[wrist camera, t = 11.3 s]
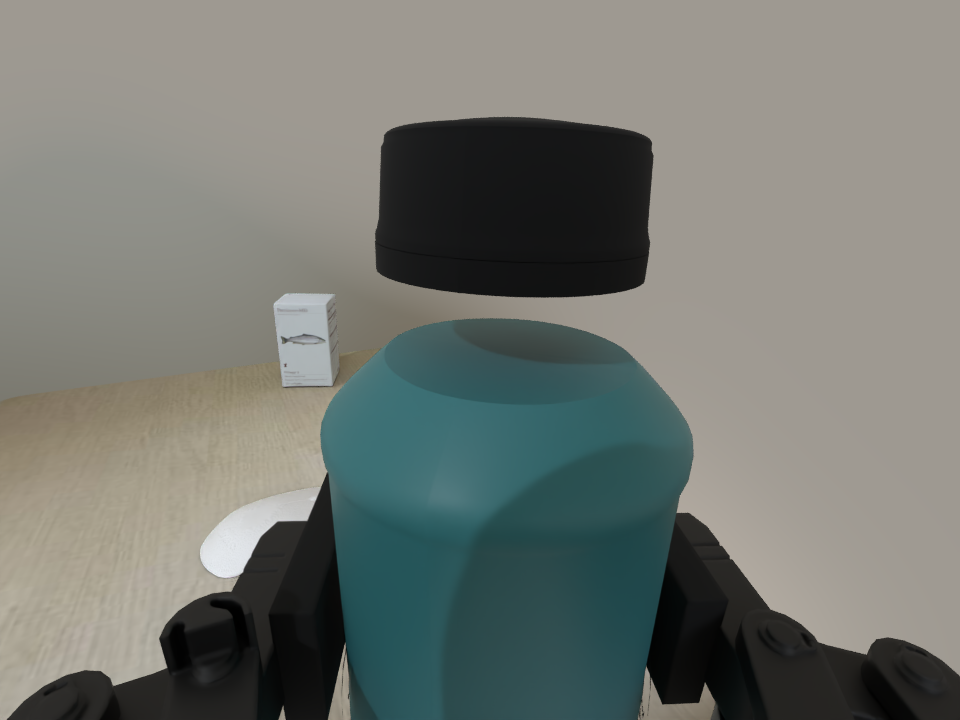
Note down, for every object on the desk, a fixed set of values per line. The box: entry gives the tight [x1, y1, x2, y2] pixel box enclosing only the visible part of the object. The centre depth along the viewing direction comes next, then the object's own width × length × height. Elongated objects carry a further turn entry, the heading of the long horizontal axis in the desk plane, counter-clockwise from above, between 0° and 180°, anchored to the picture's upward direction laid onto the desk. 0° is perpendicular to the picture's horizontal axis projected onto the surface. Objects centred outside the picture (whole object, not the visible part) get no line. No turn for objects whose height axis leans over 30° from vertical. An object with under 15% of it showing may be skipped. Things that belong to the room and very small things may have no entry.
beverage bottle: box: [320, 117, 693, 720], centre depth 10 cm, size 6×7×20 cm
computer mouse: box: [200, 487, 321, 578], centre depth 40 cm, size 7×12×2 cm, turn 138°
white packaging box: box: [273, 293, 339, 387], centre depth 69 cm, size 7×7×13 cm
